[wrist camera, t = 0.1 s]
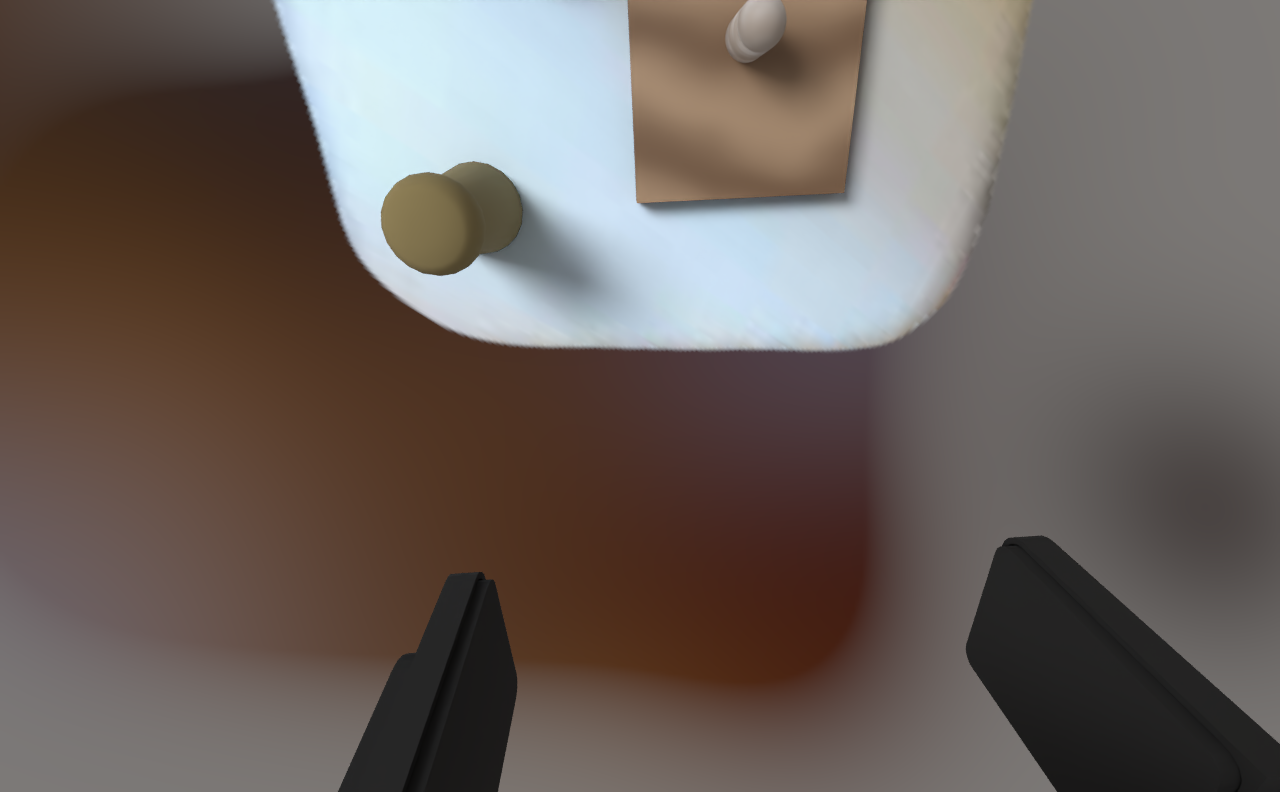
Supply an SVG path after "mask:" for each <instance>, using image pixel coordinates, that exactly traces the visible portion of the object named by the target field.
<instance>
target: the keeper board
mask: <svg viewBox="0 0 1280 792" xmlns="http://www.w3.org/2000/svg"><path fill="white" fill-rule="evenodd" d="M866 4H867V0H628V19H629V42H630V64H631V87H632V110H633V132H634V155H635V178H636V201H637V203H650V202H670V201H690V200H710V199H731V198H751V197H771V196H791V195H811V194H831V193H844V190H845V181H846V173H847V164H848V156H849V148H850V139H851V131H852V122H853V114H854V105H855V97H856V89H857V80H858V72H859V63H860V55H861V46H862V38H863V29H864V21H865V13H866Z"/></svg>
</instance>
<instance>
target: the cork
mask: <svg viewBox="0 0 1280 792" xmlns="http://www.w3.org/2000/svg"><path fill="white" fill-rule="evenodd" d="M522 211H523V209H522V205H521V200H520V196H519V194H518V192H517V190H516V188H515V187H514V185H513V183H512V182H511V181H510V180H509V179H508V178H507V177H506V176H505V175H504V174H503V173H502V172H501V171H500V170H498V169H496V168H494V167H492V166H491V165H489V164H485V163H479V162H474V161H473V162H467V163H461V164H458V165H457V166H455V167H453V168H451V169H450V170H448V171H446V172H445V173H443V174H442V175H441V174H435V173H430V172H427V173H419V174H413V175H409V176H407V177H406V178H404V179H402V180H400V181H399V182H397V183H396V184H395V185H394V186H393V188H392V189H391V190H390V192H389V193H388V194H387V196H386V197H385V200H384V203H383V206H382V210H381V225H382V230H383V233H384V236H385V238H386V241H387V243H388V245H389V246H390V248H391V249H392V251H393V252H394V253H395V255H396V256H397V257H398V258H399V259H400V260H402V261H403V262H404V263H405V264H406V265H407V266H409V267H411V268H413V269H415V270H417V271H419V272H421V273H425V274H432V275H438V276H443V275H449V274H455V273H457V272H459V271H461V270H463V269H465V268H467V267H468V266H470V265H471V264H472V263H473V261H474V260H475V259H476V258H477V257H478V256H479V254H484V253H491V252H497V251H499V250H501V249H502V248H504V247H506V246H508V245H509V244H510V243H511V242H512V241H513V239H514V238H515V237H516V236H517V234H518V231H519V229H520V226H521V224H522Z"/></svg>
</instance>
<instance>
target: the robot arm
mask: <svg viewBox="0 0 1280 792" xmlns="http://www.w3.org/2000/svg"><path fill="white" fill-rule="evenodd" d="M966 653H967V657H968V660H969V663H970V665H971V666H972V668H973V670H974V671H975V672H976V674H977V675H978V677H979V678H980V680H981V681H982V683H983V684H984V686H985V687H986V689H987V690H988V691H989V693H990V694H991V696H992V697H993V699H994V700H995V702H996V703H997V704H998V706H999V708H1000V709H1001V710H1002V712H1003V713H1004V715H1005V716H1006V718H1007V719H1008V721H1009V722H1010V724H1011V725H1012V727H1013V728H1014V729H1015V731H1016V732H1017V734H1018V735H1019V737H1020V738H1021V739H1022V741H1023V743H1024V744H1025V745H1026V747H1027V748H1028V750H1029V751H1030V753H1031V754H1032V756H1033V757H1034V759H1035V760H1036V761H1037V763H1038V764H1039V766H1040V767H1041V769H1042V770H1043V772H1044V773H1045V775H1046V776H1047V778H1048V779H1049V781H1050V782H1051V783H1052V785H1053V786H1054V788H1055V789H1056V791H1057V792H1280V744H1279V743H1278V742H1277V741H1276V740H1274V739H1273V738H1272V737H1271V736H1270V735H1269V734H1268V733H1267V732H1265V731H1264V730H1263V729H1262V728H1261V727H1260V726H1259V725H1258V724H1257V723H1256V722H1254V721H1253V720H1252V719H1251V718H1250V717H1249V716H1248V715H1247V714H1245V713H1244V712H1243V711H1242V710H1241V709H1240V708H1239V707H1238V706H1237V705H1235V704H1234V703H1233V702H1232V701H1231V700H1230V699H1229V698H1227V697H1226V696H1225V695H1224V694H1223V693H1222V692H1221V691H1220V690H1219V689H1218V688H1216V687H1215V686H1214V685H1213V684H1212V683H1211V682H1210V681H1209V680H1208V679H1206V678H1205V677H1204V676H1203V675H1202V674H1201V673H1200V672H1198V671H1197V670H1196V669H1195V668H1194V667H1193V666H1192V665H1191V664H1190V663H1189V662H1187V661H1186V660H1185V659H1184V658H1183V657H1182V656H1181V655H1180V654H1178V653H1177V652H1176V651H1175V650H1174V649H1173V648H1172V647H1171V646H1169V645H1168V644H1167V643H1166V642H1165V641H1164V640H1163V639H1162V638H1161V637H1159V636H1158V635H1157V634H1156V633H1155V632H1154V631H1153V630H1152V629H1150V628H1149V627H1148V626H1147V625H1146V624H1145V623H1144V622H1143V621H1141V620H1140V619H1139V618H1138V617H1137V616H1136V615H1135V614H1134V613H1133V612H1131V611H1130V610H1129V609H1128V608H1127V607H1126V606H1125V605H1124V604H1123V603H1121V602H1120V601H1119V600H1118V599H1117V598H1116V597H1115V596H1114V595H1113V594H1111V593H1110V592H1109V591H1108V590H1107V589H1106V588H1104V586H1102V585H1101V584H1100V583H1099V582H1098V581H1097V580H1096V579H1094V578H1093V577H1092V576H1091V575H1090V574H1089V573H1088V572H1087V571H1086V570H1084V569H1083V568H1082V567H1081V566H1080V565H1078V563H1077V562H1076V561H1075V560H1073V559H1072V558H1071V557H1070V556H1069V555H1068V554H1067V553H1066V552H1064V551H1063V550H1062V549H1061V548H1060V547H1059V546H1058V545H1056V543H1054V542H1053V541H1052V540H1050V539H1049V538H1047V537H1044V536H1029V537H1014V538H1008V539H1006V540H1005V541H1004V543H1003V545H1002V547H999V548H997V550H996V552H995V555H994V558H993V561H992V564H991V568H990V571H989V574H988V577H987V581H986V583H985V587H984V590H983V593H982V596H981V599H980V603H979V606H978V609H977V612H976V616H975V618H974V622H973V625H972V628H971V631H970V634H969V638H968V641H967V644H966ZM516 693H517V674H516V670H515V666H514V662H513V657H512V653H511V649H510V644H509V640H508V636H507V632H506V627H505V623H504V619H503V615H502V610H501V606H500V602H499V598H498V593H497V589H496V585H495V582H494V580H486V579H485V576H484V574H483V573H482V572H474V573H461V574H450V575H449V576H448V578H447V580H446V582H445V584H444V587H443V589H442V591H441V594H440V596H439V599H438V601H437V603H436V606H435V608H434V611H433V613H432V615H431V618H430V620H429V623H428V625H427V628H426V630H425V632H424V635H423V637H422V640H421V642H420V645H419V647H418V649H417V652H416V653H409V654H405V655H402V656H401V658H400V659H399V660H398V661H397V663H396V664H395V666H394V668H393V670H392V672H391V674H390V676H389V679H388V681H387V683H386V685H385V688H384V690H383V692H382V694H381V697H380V699H379V701H378V703H377V706H376V708H375V710H374V712H373V715H372V717H371V719H370V721H369V723H368V726H367V728H366V730H365V733H364V735H363V737H362V739H361V741H360V744H359V746H358V748H357V750H356V753H355V755H354V757H353V759H352V762H351V764H350V766H349V768H348V771H347V773H346V775H345V777H344V779H343V782H342V784H341V787H340V788H339V791H338V792H498V788H499V783H500V777H501V772H502V767H503V762H504V757H505V752H506V747H507V742H508V736H509V731H510V726H511V721H512V716H513V710H514V706H515V700H516Z"/></svg>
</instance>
